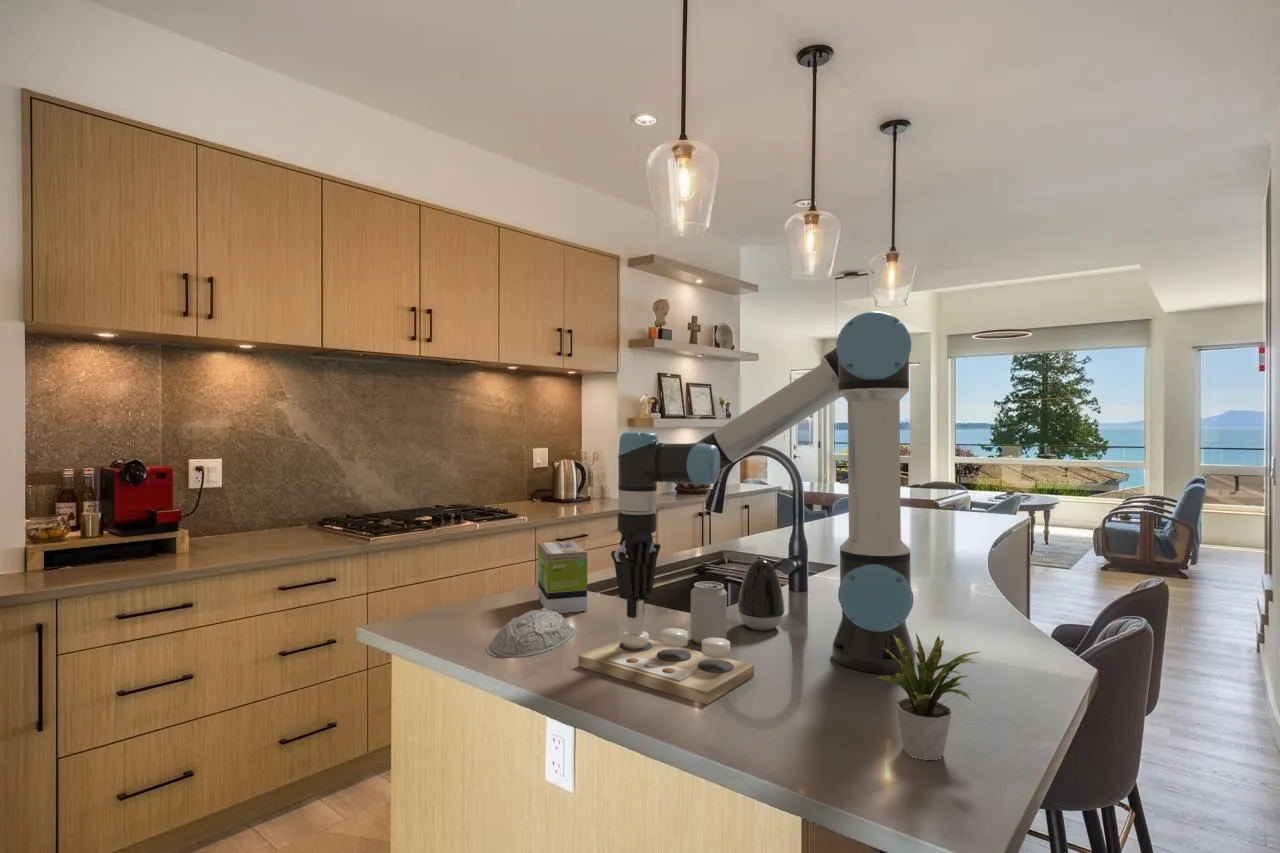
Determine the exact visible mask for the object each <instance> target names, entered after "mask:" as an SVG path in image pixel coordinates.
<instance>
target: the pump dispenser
mask: <svg viewBox="0 0 1280 853" xmlns="http://www.w3.org/2000/svg"><path fill="white" fill-rule="evenodd" d="M780 567H783V562H782V561H778V562H776V563H773V564H772V563H771V562H770V561H768V560H766V559H763V558H759V559H755V560H754V561H752V562H751V564H750V565H749V567H748V568H747V570H746V572H745V574H744V576H743V580H742V583H741V587H740V591H739V597H738V602H737V611H738V613H739V615H740V619H741V621H742V623H743V624H744V625H745V626H746V627H747V628H750V629H751V630H755V631H762V632H763V631H764V632H765V631H772V630H773V629H775V628H776V627H778V626H779V625H780V623H781V621H782V618H783V616H784V614H785V600H784V595H783V588H782V586H781V582H780V579H779V576H778V574H777V570H778V569H779V568H780Z"/></svg>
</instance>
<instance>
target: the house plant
mask: <svg viewBox="0 0 1280 853" xmlns="http://www.w3.org/2000/svg"><path fill="white" fill-rule="evenodd" d="M893 636H894V638H895V640H896V643H897V645H898V648H899V650H900V653H901V656H902V661H903V664H902V663H901V661H900V660H898V659H897V658H896V657H895V656H894V655H893V654H892V653H891V652H890V651H888V650H887V649H885V648H884V650H885V651H886V652H887V653H889V655H890V656H891V657H892V659H893V660H894V661H895V663H896V664H897V665H898V666H899V668H900V669H901V671H902V673H894V674H895V675H894V676H895V677H896V678H895V677H893V676H891V675H888V674H886V675H885V674H884V675H880V676H878V677H877V679H879V680H883V681H888V682H890V683H893V684H896V685H898V686H899V687H900V688H902V689H903V690H904V691H905V692H906V694H907V696H908V697H904V698H901V699H899V700H898V701H897V702H896V709H897V716H898V723H899V728H900V729H899V730H900V734H901V742H902V748H904V749H903V751H904V750H905V751H906V752H907V753H908V754H910V755H912V756H914V757H917V758H921V759H927V760H936V759H939V758H941V757H942V756H943V757H944V753H945V748H946V742H947V738H948V732H949V726H950V723H951V722H950V721H951V719H952V718H951V717H952V711H951V710H952V709H951V708H950V707H949V706H947V705H946V704H944V702H945V703H946V701H948V700H949V699H951V698H952V697H954V695H952V696H950V697H949V698H948V699H946V700H945V701H943V702H940V701H939V700H940V699H941V697H942V696H943V694H945V693H955V694H956V695H958V694H959V695H961V696H963V697H966V698H967V699H969V700H970V701H971V702H972V700H971V698H970V697H969V695H970V696H972V694H971V693H969V692H965V691H963V690H961V689H956V688H955V687H959V686H963V687H965V686H964V684H962V683H960V682H958V680H961V678H966V677H969V675H962V673H961V672H959V671H956V670H954V669H955V668H956V667H957V666H959V665H961V664H966V663H969V664H970V663H971V664H978V663H977V662H976V661H972V660H973V658H966V657H968V656H972V655H976V654H979V653H980V651H972V652H968V653H963V654H961V655H959V656H957V657H955V658H953V659H952V660H951V661H949V662H948V663H944V664H940V665H939V663H940V660H941V658H942V647H943V645H944V644H945V642H944V641H945V639H944V640H943V639H942V640H941V639H940V633H939V634H938V636H937V637H936V638H935V642H934V645H933V647H932V649H931V651H930V654H929V655H928V658H927V659H926V654H925V650H924V648H923V646H922V643H921V639H920V637H919V636H918V634H917V633H915V637H916V642H917V648H918V649H917V650H914V651H913V652H915V656H917V659H918V661H919V662H915V666H916V668H917V671H918V672H917V673H916V670H915V667H914V664H913V661H912V658H911V655H910V653H909V650H908V649H907V648H906V646H905V645H904V644H903V643H902V642H901V640H900V639H899V638H898V637H896V636H895V635H894V634H893ZM940 669H941V670H940ZM939 670H940V672H939V673H938V674H937V675H936V676H935V673H936V671H937V672H938V671H939ZM951 673H956V674H960V675H959V676H955V677H950V676H949V674H951ZM917 674H918V676H917ZM934 676H935V677H934ZM946 679H950V680H948V681H945V680H946ZM972 703H973V702H972ZM905 751H904V752H905ZM906 752H905V753H906ZM907 753H906V754H907ZM908 754H907V755H908ZM910 755H909V756H910ZM912 756H911V757H912ZM914 757H913V758H914ZM917 758H916V759H917ZM941 759H942V758H941ZM936 761H937V760H936Z"/></svg>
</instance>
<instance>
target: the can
mask: <svg viewBox="0 0 1280 853" xmlns="http://www.w3.org/2000/svg"><path fill="white" fill-rule="evenodd" d="M693 586H694V587H693V588H692V589H691V590H690V636H689V637H690V638H691V639H692V640H693V641H694V642H695V644H697V645H700V646H702V640H704V639H706V638H723V639H726V640H727V617H728V616H727V612H728V611H727V610H728V609H727V607H728V603H727V602H728V600H727V599H728V597H727V596H728V592H727V590H726V589H725V588H724V587H725V585H724V584H723V583H721V582H717V581H709V580H708V581H707V580H706V581H698V582H694V584H693Z"/></svg>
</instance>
